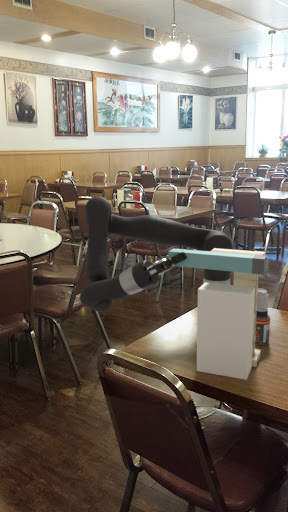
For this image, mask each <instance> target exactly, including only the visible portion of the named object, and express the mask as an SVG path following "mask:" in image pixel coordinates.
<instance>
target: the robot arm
mask: <svg viewBox="0 0 288 512" xmlns="http://www.w3.org/2000/svg"><path fill="white" fill-rule="evenodd" d="M83 212H84V213H83V216H84V217H83V218H84V219H83V220H84V221H83V222H84V224H85V226H86V227H87V228H88V230H87V231H88V235H87V236H88V237H87V249H86V262H85V278H86V280H87V281H88V282H89V284H87V285H85V287H84V288H82V290H81V292H80V294H79V301H80V303H81V304H82V305H83V306H84V307H86V308H89V309H90V310H94V311H95V312H97V313H107V311H109V310H110V308H111V307H112V304H113V300H114V301H120V300H123V299H124V298H127V297H128V296H129V297H130V296H131V295H134V294H136V293H139V292H142V291H143V290H146V289H148V288H150V287H152V286H154V285H156V284H157V283H158V282H159V276H162V275H163V274H164V273H167V272H168V271H169V270H171V269H172V268H174V267H175V266H174V265H175V264H177V263H179V262H181V261H183V260H185V259H187V256H186V255H185V252H181V253H179V254H177V255H175V256H173V257H169V258H168V255H167V256H165V257H163V258H161V259H157V260H156V261H154V262H151V261H150V260H147V259H144V260H141V261H140V262H138V263H136V264H134V265H133V266H130V267H129V268H127V269H125V270H124V271H123V272H121V273H118V274H117V275H115V276H113V277H111V278H109V251H108V250H109V248H108V234H109V235H110V234H111V235H116V236H117V235H118V236H124V237H128V238H131V239H135V240H136V239H137V240H141V241H145V242H147V243H152V244H156V245H161V246H166V247H167V246H168V247H186V248H185V249H186V250H191V249H193V250H198V251H211V250H212V249H214V248H218V249H232V250H233V243H232V241H231V239H230V238H229V237H230V236H228V234H226V233H225V232H223V231H220V230H215V229H208V228H207V229H206V228H199V227H195V226H191V225H188V224H185V223H182V222H179V221H175V220H172V219H170V218H166V217H162V216H157V215H151V214H147V215H138V216H132V217H131V216H130V217H129V216H128V217H127V216H126V217H125V216H120V215H116V214H113V209H112V206H111V203H110V201H109V200H108V199H107V198H105V197H103V196H93V197H91V198H90V199H89V200H87V202H86V204H85V207H84V211H83ZM168 260H169V261H168ZM231 273H232V271H222V270H211V269H203V271H202V274H203V276H202V277H203V279H202V285H203V284H204V283H205V282H206V283H216V284H226V285H231Z"/></svg>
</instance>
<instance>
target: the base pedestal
mask: <svg viewBox="0 0 288 512" xmlns="http://www.w3.org/2000/svg"><path fill="white" fill-rule="evenodd" d="M254 298H255V287H246V286H236V285H234V284H230V285H226V284H216V283H206V282H205V283H204V284H203V283H202V284H201V286H200V287H199V288H198V289H197V318H196V319H197V323H196V324H197V327H196V328H197V330H196V331H197V332H196V335H197V337H196V372H200V373H201V372H202V373H206V374H207V373H208V374H213V375H219V376H224V377H229V378H235V379H241V380H245V381H246V380H248V378H249V376H250V374H251V371H252V367H253V366H252V344H253V321H254Z"/></svg>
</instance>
